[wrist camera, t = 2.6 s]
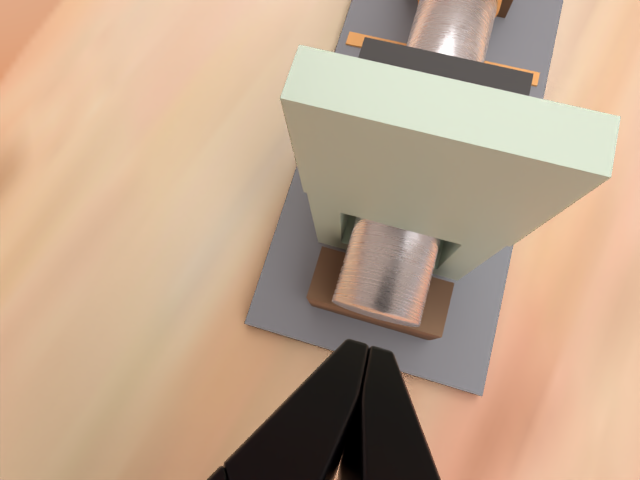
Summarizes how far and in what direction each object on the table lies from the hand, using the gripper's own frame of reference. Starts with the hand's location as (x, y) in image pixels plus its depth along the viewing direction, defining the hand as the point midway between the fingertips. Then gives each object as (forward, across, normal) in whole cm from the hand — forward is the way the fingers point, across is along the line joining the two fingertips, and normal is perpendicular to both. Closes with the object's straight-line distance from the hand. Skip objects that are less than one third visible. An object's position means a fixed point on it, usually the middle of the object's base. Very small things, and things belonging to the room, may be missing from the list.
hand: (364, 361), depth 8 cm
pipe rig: (+16, 0, +1) cm, 16 cm away
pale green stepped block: (+11, 0, +3) cm, 12 cm away
